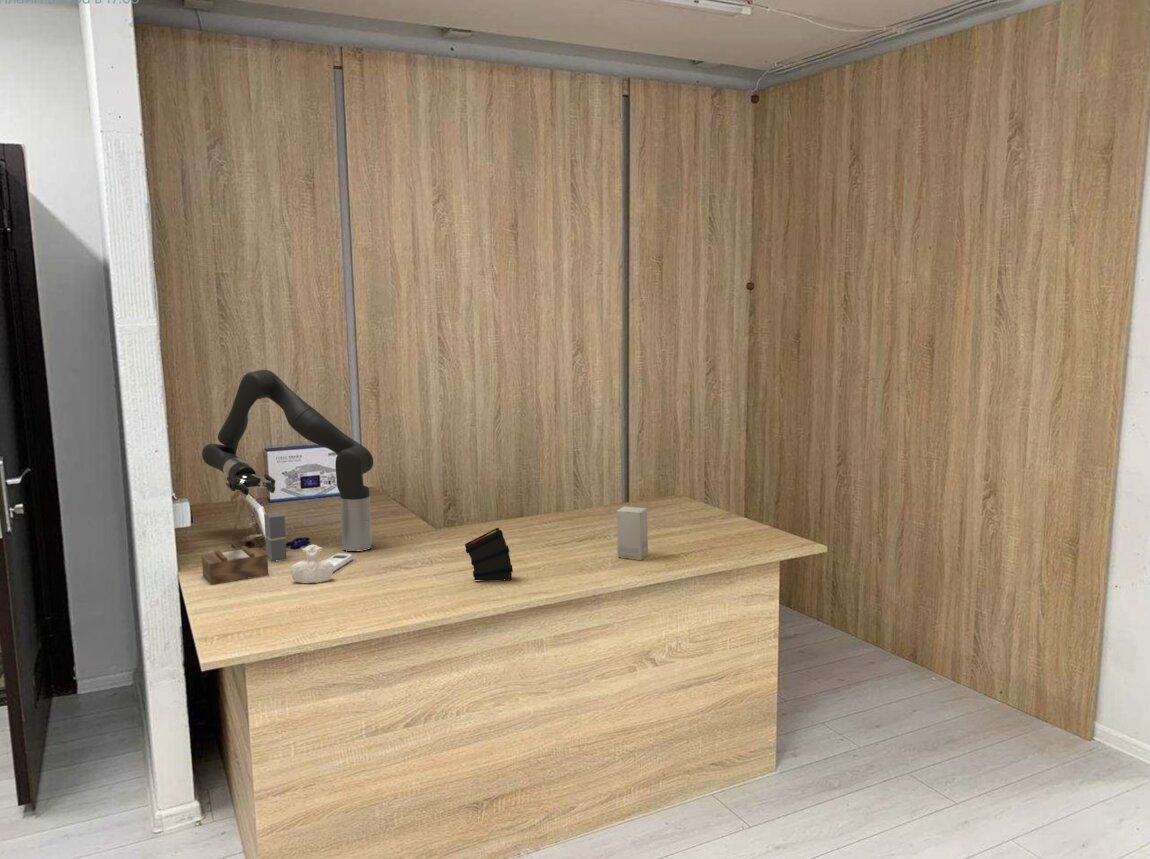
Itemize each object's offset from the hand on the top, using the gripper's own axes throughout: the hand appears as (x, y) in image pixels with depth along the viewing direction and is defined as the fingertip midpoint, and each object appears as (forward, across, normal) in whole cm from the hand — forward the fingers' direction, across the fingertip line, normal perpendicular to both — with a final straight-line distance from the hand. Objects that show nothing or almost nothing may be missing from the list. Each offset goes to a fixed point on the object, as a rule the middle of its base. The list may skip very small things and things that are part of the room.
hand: (260, 491), depth 279 cm
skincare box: (+88, +81, -7) cm, 120 cm away
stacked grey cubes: (+14, +1, +17) cm, 22 cm away
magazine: (+75, +34, 0) cm, 83 cm away
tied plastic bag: (+42, -2, +11) cm, 43 cm away
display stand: (+22, -15, +16) cm, 31 cm away
